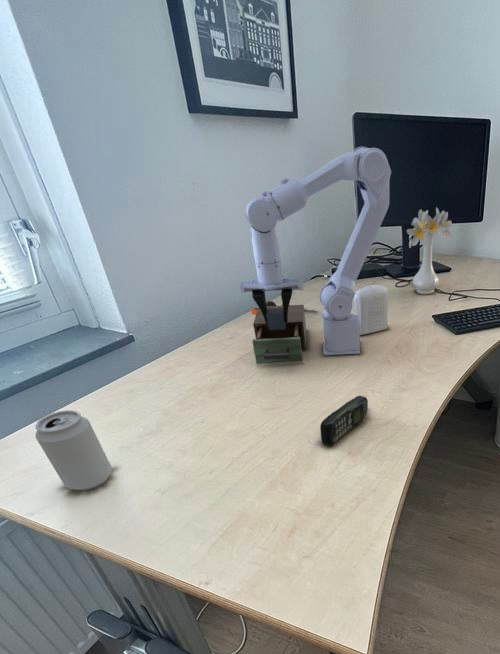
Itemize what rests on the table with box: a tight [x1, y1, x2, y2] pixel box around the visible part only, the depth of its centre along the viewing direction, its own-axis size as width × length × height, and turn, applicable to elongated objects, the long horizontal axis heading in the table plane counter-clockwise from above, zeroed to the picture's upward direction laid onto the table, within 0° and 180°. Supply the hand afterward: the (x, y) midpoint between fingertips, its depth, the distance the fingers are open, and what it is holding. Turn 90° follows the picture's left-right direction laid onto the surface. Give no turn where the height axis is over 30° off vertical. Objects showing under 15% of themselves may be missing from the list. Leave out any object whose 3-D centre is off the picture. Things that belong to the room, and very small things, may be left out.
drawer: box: [251, 325, 304, 365], centre depth 109 cm, size 17×11×6 cm
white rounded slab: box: [353, 284, 389, 336], centre depth 122 cm, size 10×4×12 cm, turn 123°
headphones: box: [250, 300, 317, 316], centre depth 133 cm, size 17×5×20 cm
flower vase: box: [406, 206, 453, 295], centre depth 145 cm, size 13×18×25 cm
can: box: [34, 409, 113, 491], centre depth 71 cm, size 8×8×12 cm
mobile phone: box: [319, 395, 369, 447], centre depth 84 cm, size 5×3×15 cm
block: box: [266, 308, 286, 330], centre depth 106 cm, size 4×4×4 cm
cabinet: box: [252, 304, 308, 351], centre depth 118 cm, size 14×13×8 cm
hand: (276, 321), depth 107 cm, fingers closed on block, 4 cm apart
